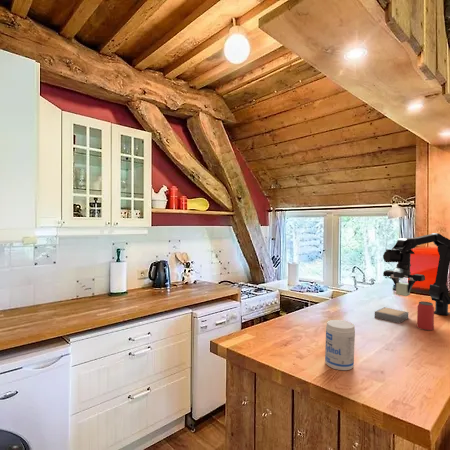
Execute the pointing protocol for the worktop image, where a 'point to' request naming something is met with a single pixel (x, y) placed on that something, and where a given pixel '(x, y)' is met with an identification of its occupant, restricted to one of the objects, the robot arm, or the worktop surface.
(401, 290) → the cream block
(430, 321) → the beer can
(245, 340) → the worktop surface
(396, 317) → the slate base
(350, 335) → the supplement tub
